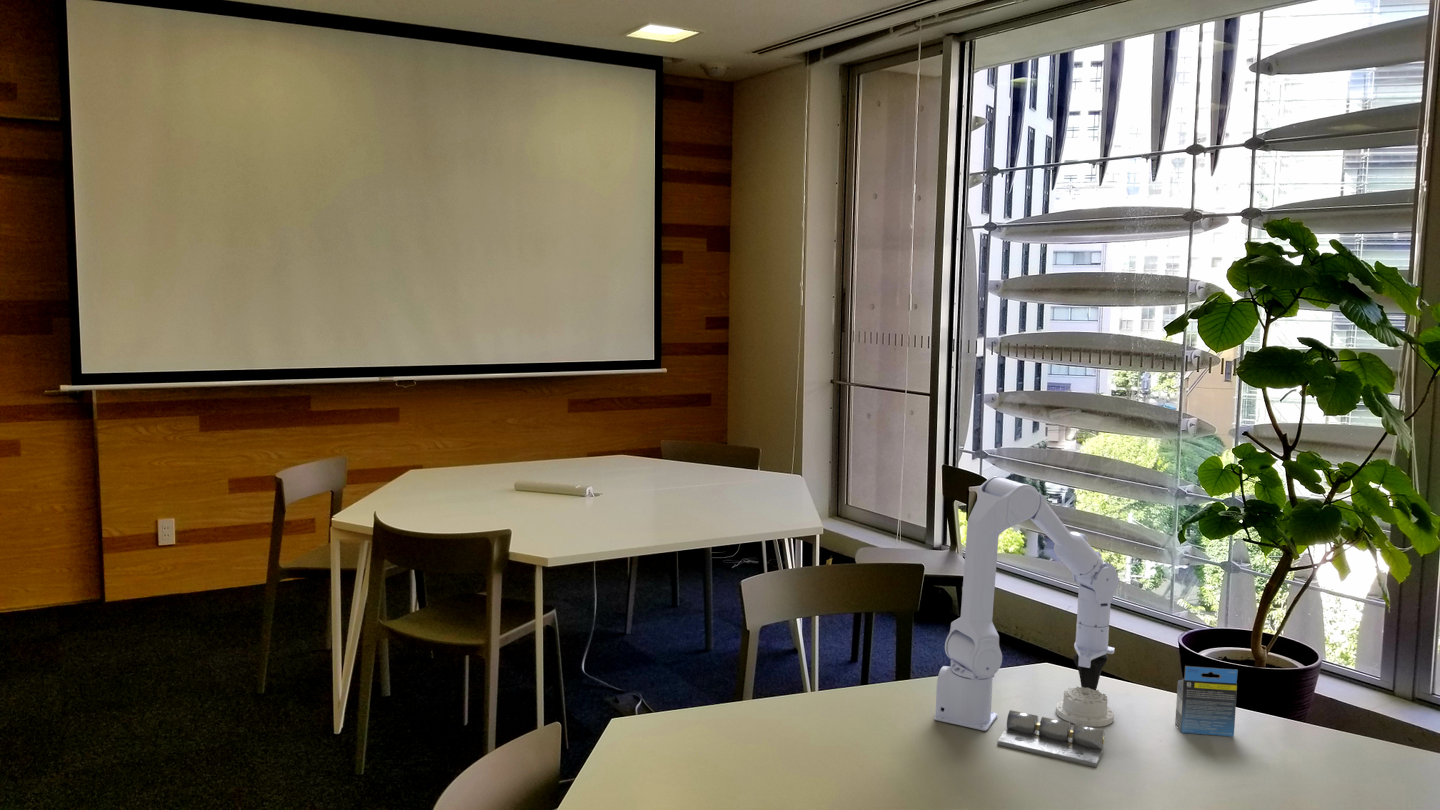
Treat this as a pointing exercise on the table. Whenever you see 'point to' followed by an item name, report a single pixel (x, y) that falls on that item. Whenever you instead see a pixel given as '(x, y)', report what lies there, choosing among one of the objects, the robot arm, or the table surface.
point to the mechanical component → (1085, 707)
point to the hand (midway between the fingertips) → (1088, 692)
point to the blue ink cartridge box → (1207, 701)
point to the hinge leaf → (1053, 738)
